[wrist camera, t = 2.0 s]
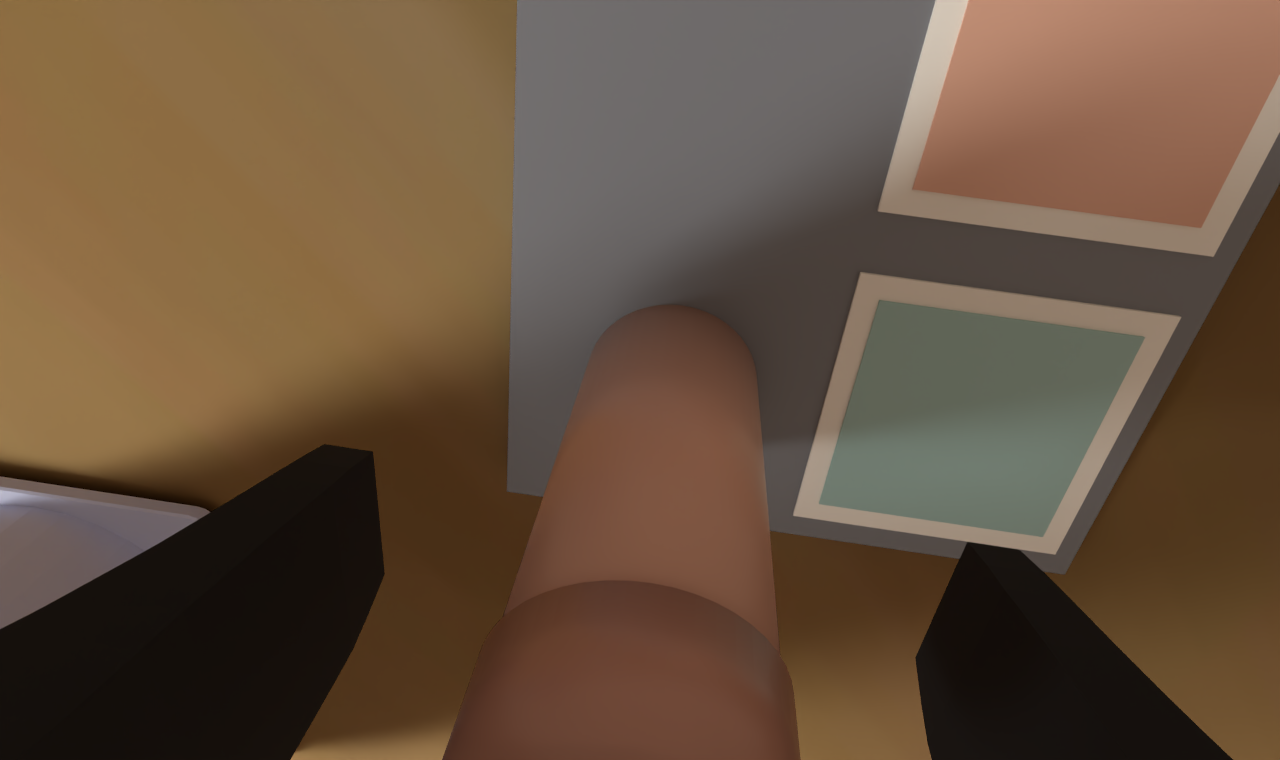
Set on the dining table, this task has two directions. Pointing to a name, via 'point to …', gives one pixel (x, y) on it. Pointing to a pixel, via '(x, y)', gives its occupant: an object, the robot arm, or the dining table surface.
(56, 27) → the dining table surface
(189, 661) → the robot arm
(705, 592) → the tan rounded cylinder
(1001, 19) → the picture board
